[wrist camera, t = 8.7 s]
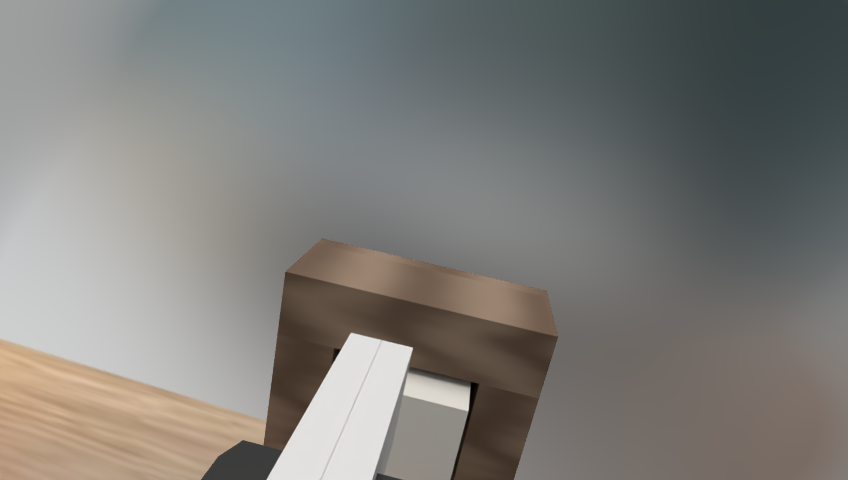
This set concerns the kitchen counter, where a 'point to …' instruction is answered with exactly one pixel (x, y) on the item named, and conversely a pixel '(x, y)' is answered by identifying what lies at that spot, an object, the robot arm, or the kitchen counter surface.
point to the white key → (429, 426)
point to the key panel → (417, 342)
